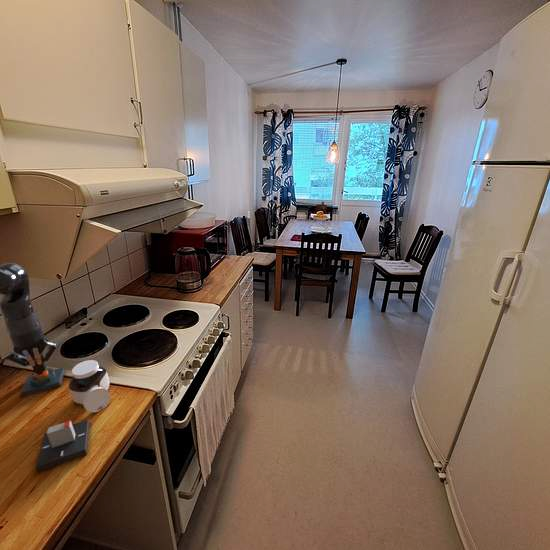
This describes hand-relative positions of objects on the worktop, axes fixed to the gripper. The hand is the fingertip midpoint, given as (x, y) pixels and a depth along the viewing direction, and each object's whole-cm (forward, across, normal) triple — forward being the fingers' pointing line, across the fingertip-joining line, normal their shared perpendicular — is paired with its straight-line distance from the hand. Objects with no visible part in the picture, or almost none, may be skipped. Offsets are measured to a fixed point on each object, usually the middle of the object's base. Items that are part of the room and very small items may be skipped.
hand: (41, 372), depth 94 cm
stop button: (+2, 0, 0) cm, 2 cm away
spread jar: (+5, -15, +15) cm, 22 cm away
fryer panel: (+5, -9, +30) cm, 32 cm away
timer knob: (+2, -9, +30) cm, 32 cm away
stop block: (+5, 0, 0) cm, 5 cm away
